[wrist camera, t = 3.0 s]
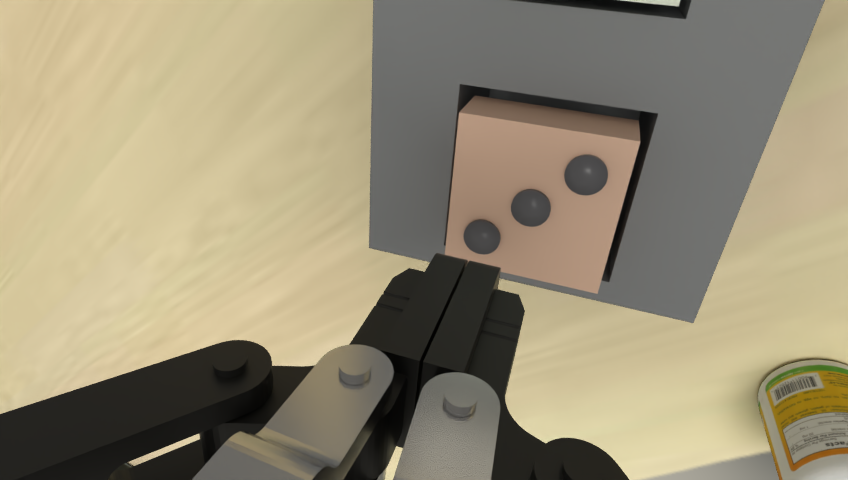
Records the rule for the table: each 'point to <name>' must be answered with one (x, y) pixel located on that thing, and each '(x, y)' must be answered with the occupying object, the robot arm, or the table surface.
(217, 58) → the table surface
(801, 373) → the supplement bottle
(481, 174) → the tan block with dots
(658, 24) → the console
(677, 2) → the pale green flat block
